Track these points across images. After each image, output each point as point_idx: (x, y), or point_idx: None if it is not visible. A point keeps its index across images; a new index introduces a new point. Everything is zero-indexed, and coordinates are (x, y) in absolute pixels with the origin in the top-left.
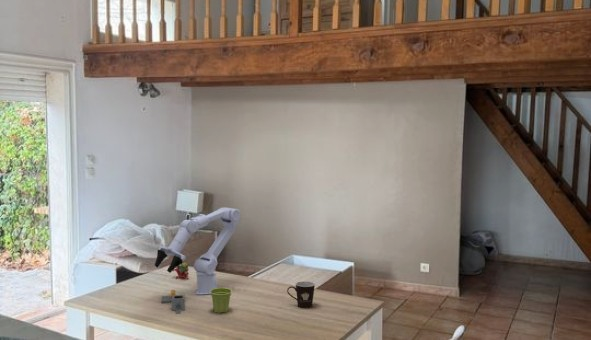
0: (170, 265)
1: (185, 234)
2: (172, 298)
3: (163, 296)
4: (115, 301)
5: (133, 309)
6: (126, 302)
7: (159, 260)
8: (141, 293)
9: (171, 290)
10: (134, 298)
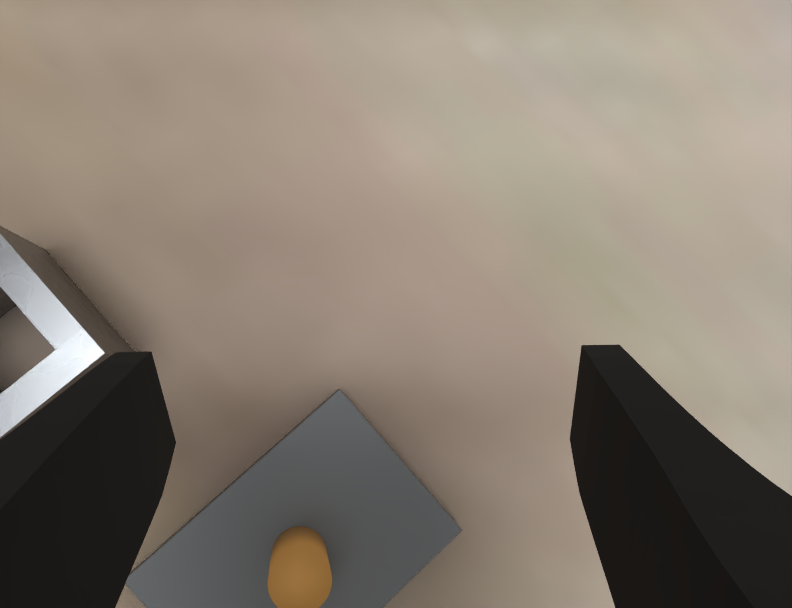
0: (40, 436)
1: None
2: (8, 254)
3: (442, 532)
4: (774, 182)
5: (441, 87)
6: (665, 213)
7: (634, 522)
8: None
9: (320, 567)
10: (700, 353)
